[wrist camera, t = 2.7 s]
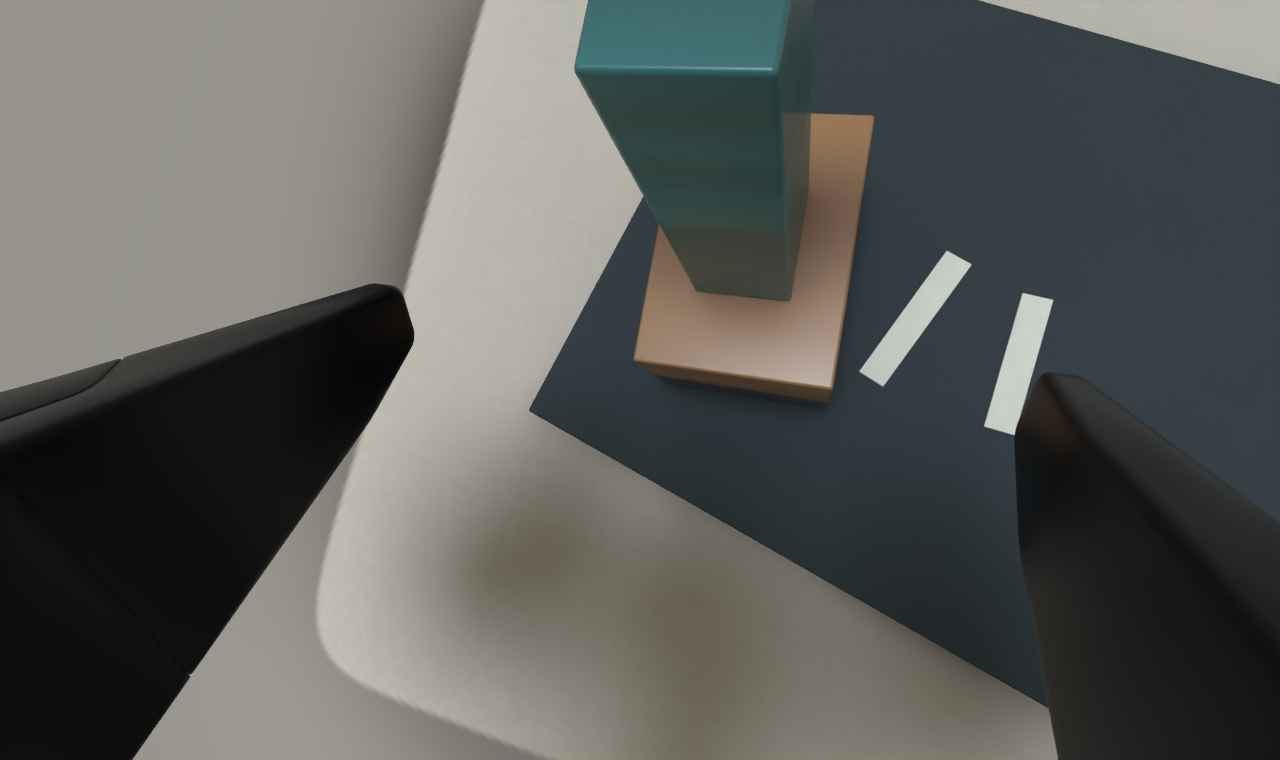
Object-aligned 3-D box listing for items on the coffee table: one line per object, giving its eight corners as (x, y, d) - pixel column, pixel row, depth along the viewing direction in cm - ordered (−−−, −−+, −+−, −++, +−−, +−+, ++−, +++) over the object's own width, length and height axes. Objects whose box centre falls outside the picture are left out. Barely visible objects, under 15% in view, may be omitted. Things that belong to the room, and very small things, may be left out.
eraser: (826, 408, 19) (879, 265, 6) (664, 383, 20) (436, 223, 7) (860, 186, 19) (969, -344, 7) (702, 176, 21) (553, -284, 8)
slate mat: (1259, 826, 15) (1273, 837, 15) (532, 411, 21) (527, 410, 21) (1580, 180, 16) (1603, 172, 15) (778, -47, 22) (778, -58, 21)
